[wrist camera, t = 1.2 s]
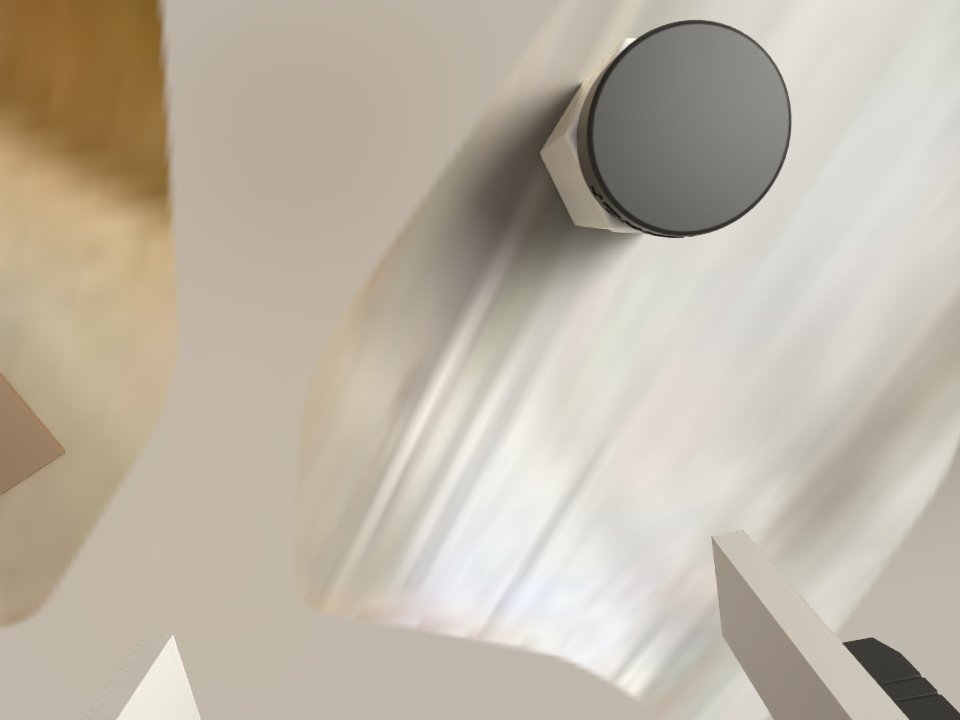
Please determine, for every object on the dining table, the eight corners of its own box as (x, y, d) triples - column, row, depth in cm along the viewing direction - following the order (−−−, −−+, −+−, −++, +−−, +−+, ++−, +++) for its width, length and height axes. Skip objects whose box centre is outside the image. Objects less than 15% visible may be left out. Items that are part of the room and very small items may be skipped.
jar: (535, 228, 38) (569, 235, 27) (543, 76, 37) (583, 13, 25) (689, 233, 39) (789, 242, 27) (704, 83, 37) (818, 23, 25)
